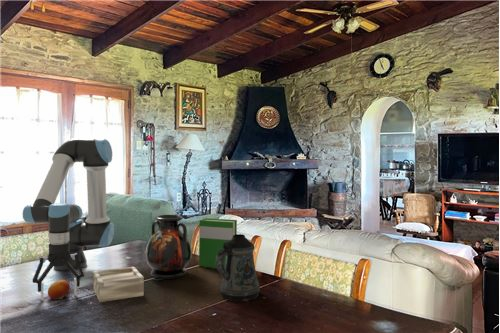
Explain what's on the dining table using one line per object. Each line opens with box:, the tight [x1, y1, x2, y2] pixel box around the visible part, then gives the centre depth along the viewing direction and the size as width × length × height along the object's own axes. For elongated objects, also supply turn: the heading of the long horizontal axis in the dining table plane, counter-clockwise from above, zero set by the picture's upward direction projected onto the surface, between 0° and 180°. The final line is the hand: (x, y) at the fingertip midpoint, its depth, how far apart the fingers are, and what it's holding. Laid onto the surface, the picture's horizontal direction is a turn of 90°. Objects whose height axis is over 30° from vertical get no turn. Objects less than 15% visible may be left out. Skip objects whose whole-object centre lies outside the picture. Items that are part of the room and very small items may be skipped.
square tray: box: [92, 266, 145, 303], centre depth 169 cm, size 17×17×8 cm
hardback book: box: [198, 217, 238, 269], centre depth 209 cm, size 18×7×24 cm, turn 76°
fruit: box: [47, 279, 71, 300], centre depth 162 cm, size 8×8×8 cm
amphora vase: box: [145, 214, 192, 280], centre depth 194 cm, size 22×22×28 cm
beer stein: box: [216, 233, 261, 302], centre depth 167 cm, size 16×19×25 cm
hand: (59, 297), depth 162 cm, fingers open, 11 cm apart
